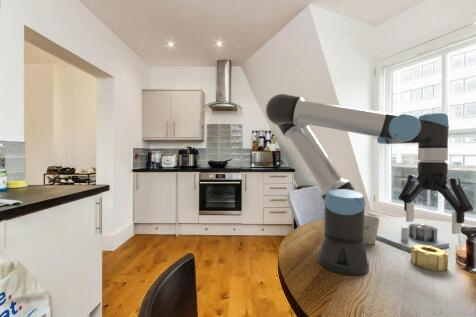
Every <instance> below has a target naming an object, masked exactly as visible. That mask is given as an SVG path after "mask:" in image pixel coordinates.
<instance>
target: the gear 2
mask: <svg viewBox="0 0 476 317" xmlns="http://www.w3.org/2000/svg"><path fill="white" fill-rule="evenodd" d="M410 260H411V261H412V264H413V265H416V266H418V267H421V268H422V269H427V270H430V271H436V272H443V271H445V270H446V271H448V269H449V254H448V253H447V252H446V251H445V250H443V249H442V248H441V249H438V248H435V247H431V246H426V245H414V246H411V252H410Z"/></svg>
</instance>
